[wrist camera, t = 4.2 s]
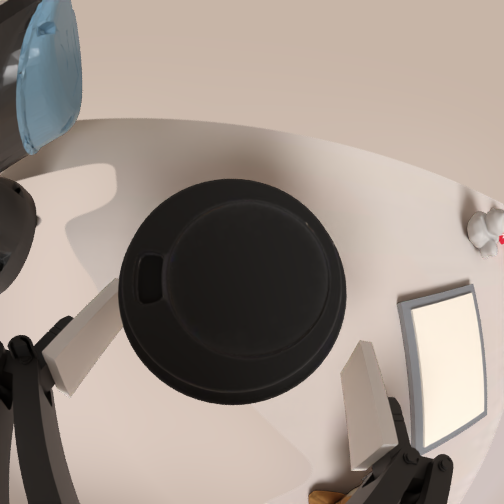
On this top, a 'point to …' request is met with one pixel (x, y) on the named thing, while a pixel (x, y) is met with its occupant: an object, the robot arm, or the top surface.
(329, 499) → the stuffed squirrel
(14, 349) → the robot arm
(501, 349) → the top surface
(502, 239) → the dice
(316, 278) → the coffee cup
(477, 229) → the light grey lumpy piece
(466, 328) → the picture frame
